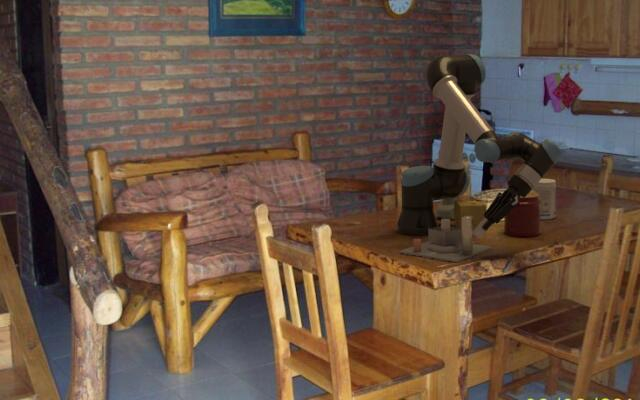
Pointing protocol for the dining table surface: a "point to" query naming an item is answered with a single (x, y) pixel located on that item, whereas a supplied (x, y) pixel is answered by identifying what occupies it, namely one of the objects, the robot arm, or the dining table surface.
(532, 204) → the canister
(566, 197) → the dining table surface
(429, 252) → the square plate with uprights
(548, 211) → the supplement tub
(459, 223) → the olive yellow box
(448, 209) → the air freshener
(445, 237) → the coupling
